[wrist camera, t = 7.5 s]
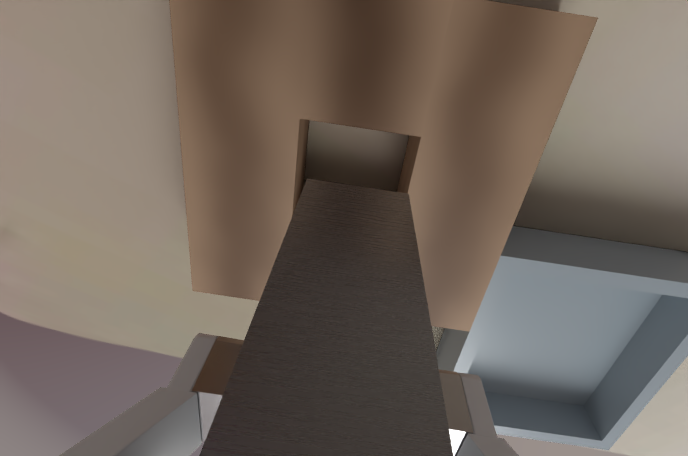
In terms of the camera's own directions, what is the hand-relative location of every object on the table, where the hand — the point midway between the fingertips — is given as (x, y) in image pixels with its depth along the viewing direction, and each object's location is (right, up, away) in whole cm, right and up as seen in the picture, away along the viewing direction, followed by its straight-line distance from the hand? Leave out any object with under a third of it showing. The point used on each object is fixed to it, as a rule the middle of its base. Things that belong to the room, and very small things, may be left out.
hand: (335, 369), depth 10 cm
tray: (+15, -4, +20) cm, 25 cm away
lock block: (+1, +8, +14) cm, 16 cm away
